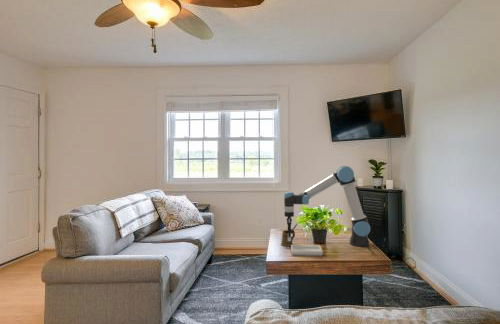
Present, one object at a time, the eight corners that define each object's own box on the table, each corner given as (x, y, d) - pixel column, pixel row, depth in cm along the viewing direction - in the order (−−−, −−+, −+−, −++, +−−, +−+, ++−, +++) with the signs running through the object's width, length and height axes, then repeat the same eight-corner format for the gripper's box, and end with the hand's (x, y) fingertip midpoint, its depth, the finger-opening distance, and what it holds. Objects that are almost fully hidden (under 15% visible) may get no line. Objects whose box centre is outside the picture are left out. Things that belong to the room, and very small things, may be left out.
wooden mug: (296, 247, 243) (296, 224, 243) (280, 246, 247) (279, 223, 247) (298, 244, 252) (298, 222, 251) (282, 243, 256) (282, 221, 256)
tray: (320, 249, 237) (320, 245, 237) (322, 255, 221) (322, 251, 221) (291, 248, 240) (291, 244, 240) (291, 255, 224) (291, 251, 224)
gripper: (284, 209, 260) (284, 236, 260) (284, 213, 240) (284, 243, 241) (293, 209, 259) (293, 236, 259) (294, 213, 239) (294, 243, 240)
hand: (289, 239), depth 250 cm, fingers closed on wooden mug, 7 cm apart
